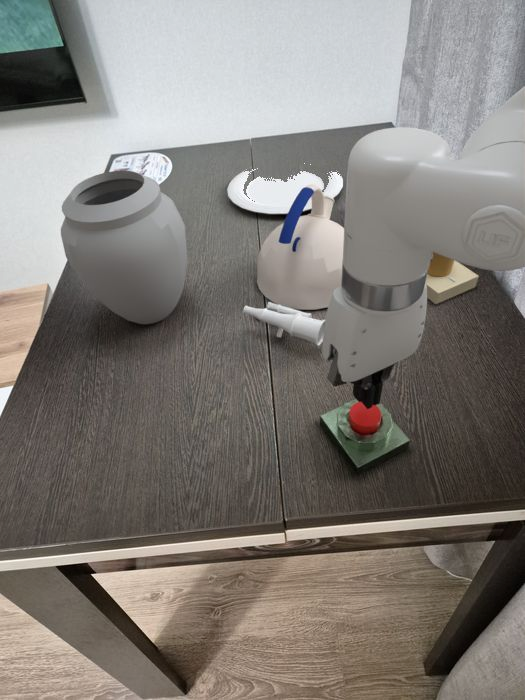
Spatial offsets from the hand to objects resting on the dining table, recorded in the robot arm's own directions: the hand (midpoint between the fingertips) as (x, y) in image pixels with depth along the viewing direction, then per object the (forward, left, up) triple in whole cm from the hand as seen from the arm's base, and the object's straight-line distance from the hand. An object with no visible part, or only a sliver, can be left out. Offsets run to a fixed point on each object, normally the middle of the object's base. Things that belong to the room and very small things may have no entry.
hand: (366, 398), depth 54 cm
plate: (+69, -25, -9) cm, 74 cm away
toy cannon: (+23, -1, -9) cm, 24 cm away
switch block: (0, 0, -9) cm, 9 cm away
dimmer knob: (+21, -31, -6) cm, 38 cm away
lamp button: (0, 0, -5) cm, 5 cm away
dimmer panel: (+21, -31, -9) cm, 39 cm away
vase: (+42, +18, -9) cm, 46 cm away
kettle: (+35, -12, -9) cm, 38 cm away
